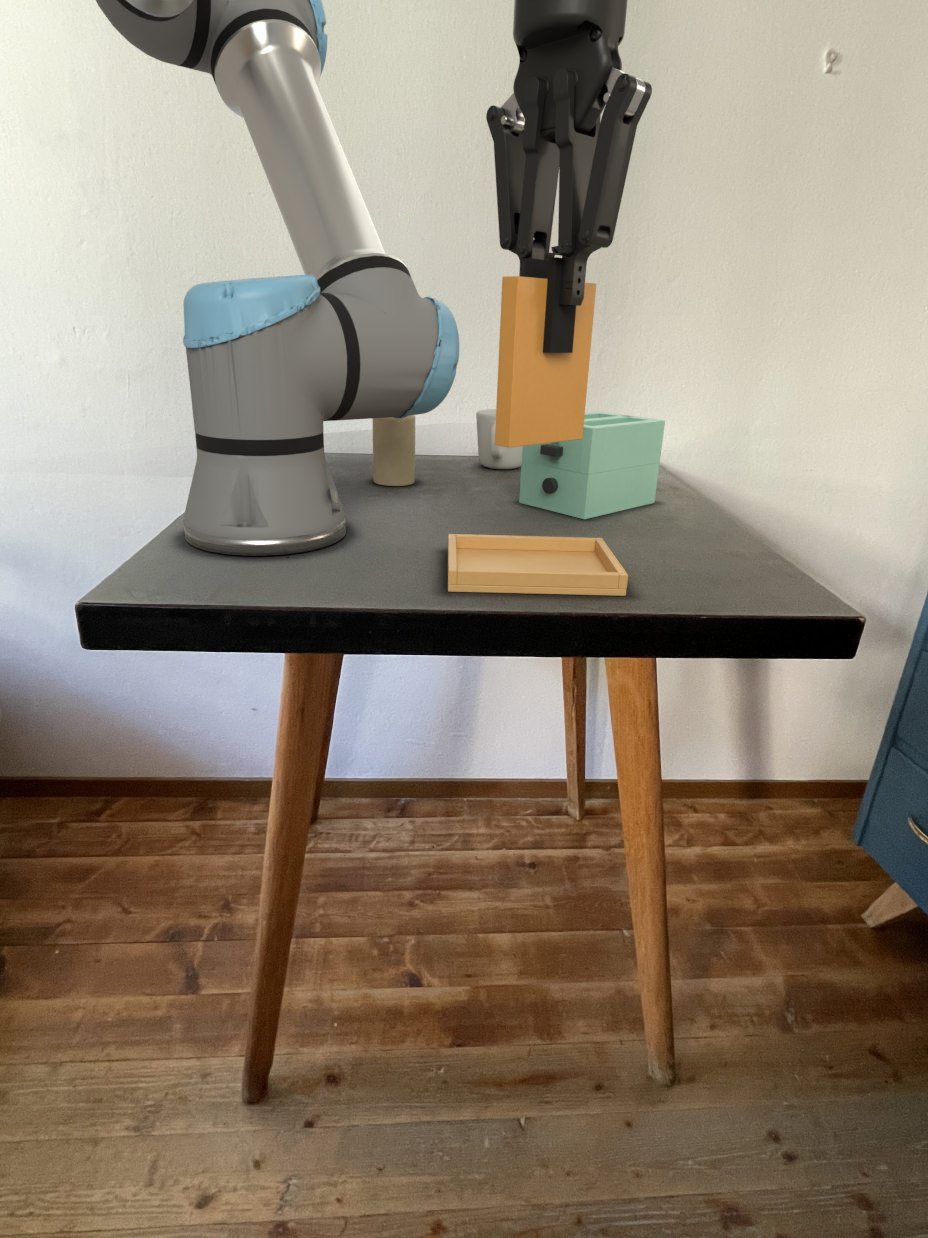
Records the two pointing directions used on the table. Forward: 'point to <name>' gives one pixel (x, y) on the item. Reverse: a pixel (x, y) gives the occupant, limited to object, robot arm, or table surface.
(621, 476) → the toaster
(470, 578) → the tray
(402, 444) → the candle
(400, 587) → the table surface
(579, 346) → the orange rectangular panel
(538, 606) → the table surface
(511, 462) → the cup
